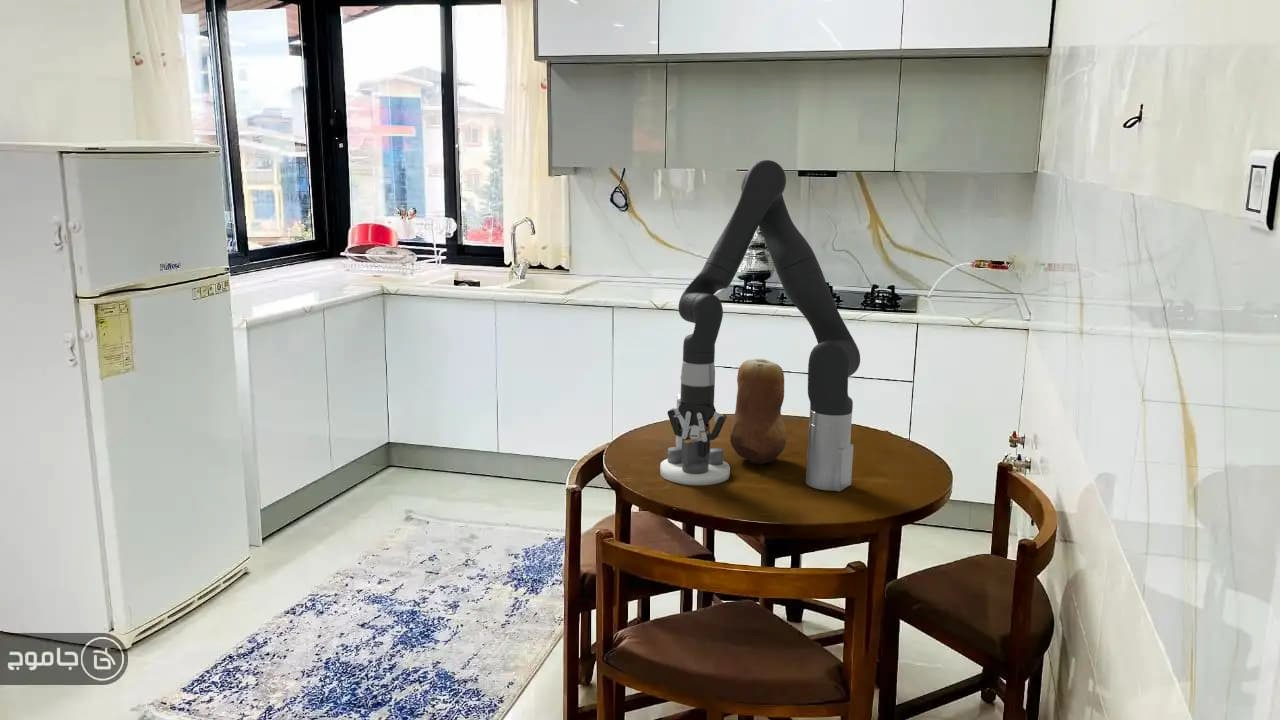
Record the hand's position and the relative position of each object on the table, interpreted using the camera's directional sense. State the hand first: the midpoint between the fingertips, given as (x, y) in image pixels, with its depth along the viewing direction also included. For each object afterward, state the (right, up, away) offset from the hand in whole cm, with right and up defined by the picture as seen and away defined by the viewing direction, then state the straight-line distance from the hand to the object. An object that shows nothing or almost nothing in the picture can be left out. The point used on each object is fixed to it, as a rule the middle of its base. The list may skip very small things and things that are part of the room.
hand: (695, 455), depth 214 cm
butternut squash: (+16, -3, +15) cm, 22 cm away
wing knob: (0, -4, +1) cm, 4 cm away
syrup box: (-1, -2, +21) cm, 21 cm away
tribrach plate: (0, -5, +5) cm, 7 cm away
